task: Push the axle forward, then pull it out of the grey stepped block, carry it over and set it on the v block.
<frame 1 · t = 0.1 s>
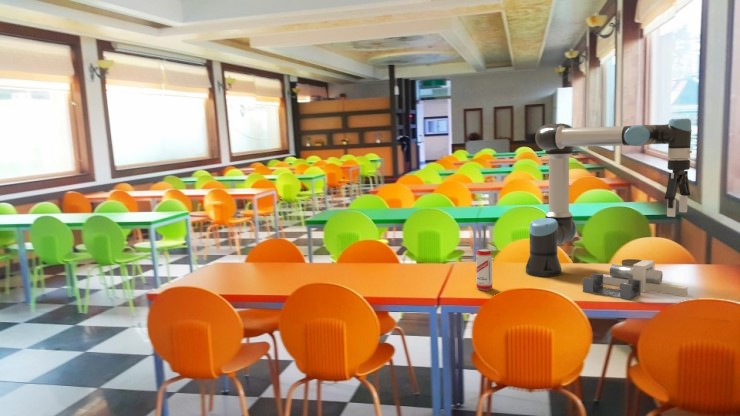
hand: (677, 214, 217), 28 cm above the table, fingers open, 13 cm apart
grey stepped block: (643, 288, 217), on the table
flower pot: (634, 278, 232), on the table
v block: (611, 293, 213), on the table
beer can: (484, 289, 225), on the table
axle: (635, 273, 218), point 5 cm above the table, touching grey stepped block
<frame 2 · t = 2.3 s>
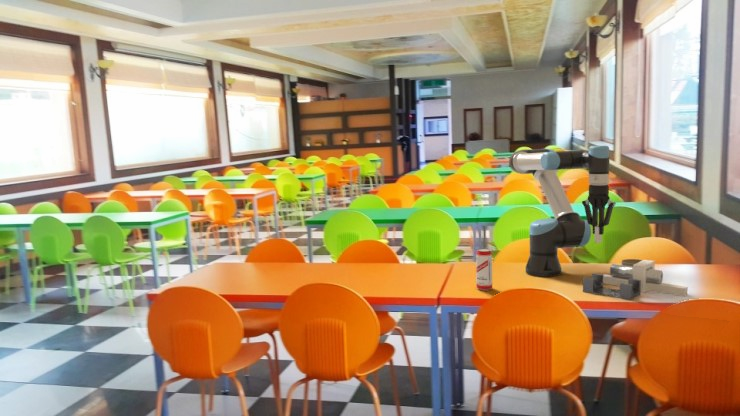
hand: (597, 242, 227), 16 cm above the table, fingers closed
axle: (635, 273, 218), point 5 cm above the table, tilted 7°, touching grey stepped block
everything else where it was.
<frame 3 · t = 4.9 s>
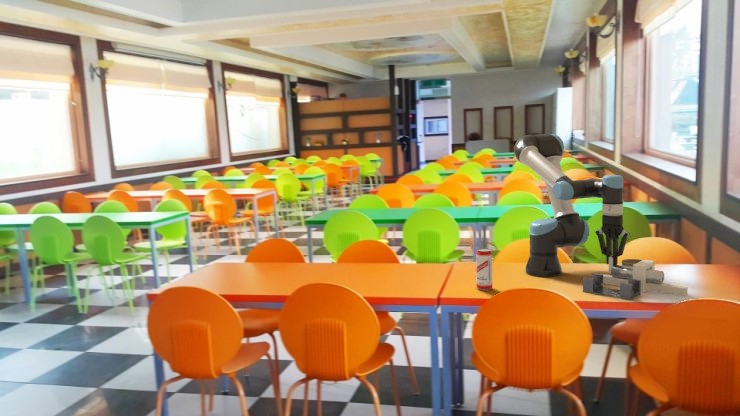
hand: (611, 272, 224), 5 cm above the table, fingers closed
axle: (637, 274, 217), point 6 cm above the table, tilted 6°, touching gripper
everything else where it was.
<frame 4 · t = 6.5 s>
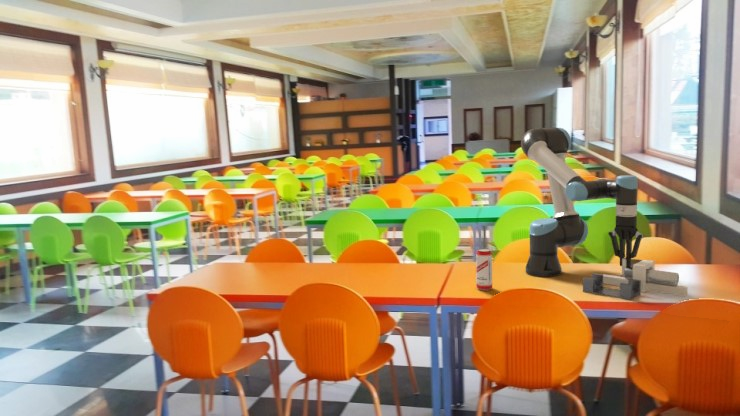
hand: (625, 274, 221), 5 cm above the table, fingers closed
axle: (651, 276, 214), point 5 cm above the table, tilted 6°, touching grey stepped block, gripper
everything else where it was.
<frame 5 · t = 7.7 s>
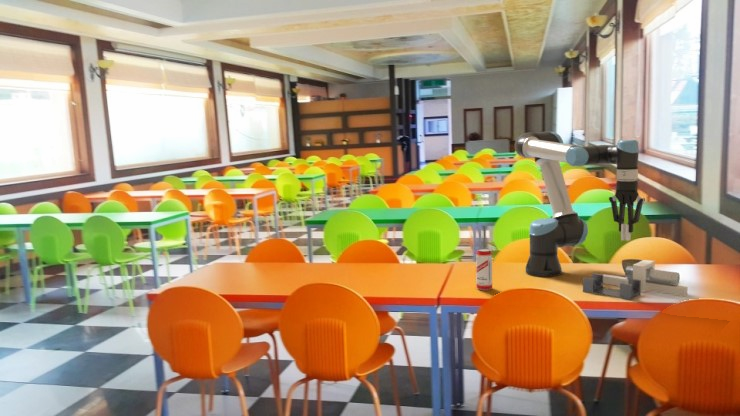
hand: (625, 240, 219), 18 cm above the table, fingers closed
axle: (651, 275, 214), point 5 cm above the table, tilted 10°, touching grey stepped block
everything else where it was.
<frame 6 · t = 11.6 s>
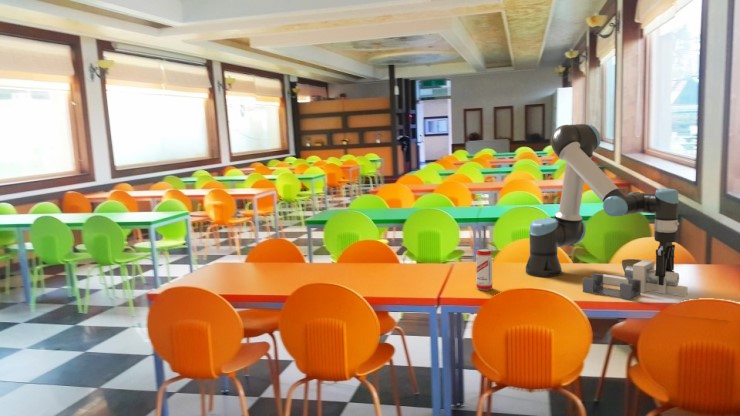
hand: (664, 291, 211), 0 cm above the table, fingers closed on axle, 5 cm apart
axle: (651, 275, 214), point 6 cm above the table, touching gripper
everything else where it was.
when the fingers open (1 cm above the table, at t = 20.0 s): axle drops 1 cm, resting on v block.
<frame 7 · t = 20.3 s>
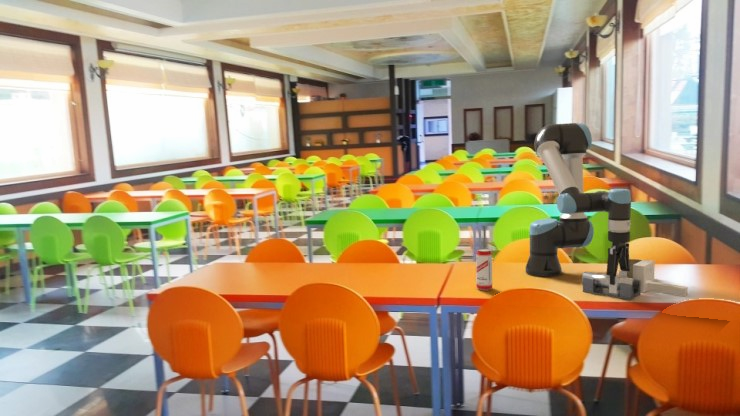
hand: (617, 290, 211), 2 cm above the table, fingers open, 8 cm apart
axle: (607, 281, 213), point 4 cm above the table, touching v block
everything else where it was.
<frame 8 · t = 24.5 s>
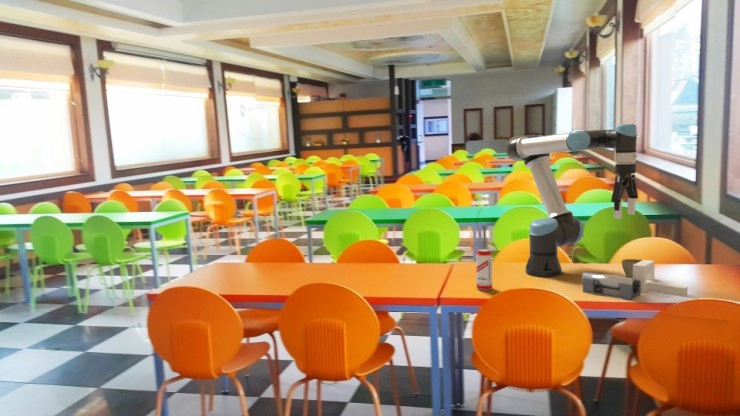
hand: (624, 216, 224), 27 cm above the table, fingers open, 13 cm apart
nothing on the table moved.
at the end: axle inside the target area on the v block (1.4 cm from its centre), point 4.2 cm above the v block's base; axle touching v block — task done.
